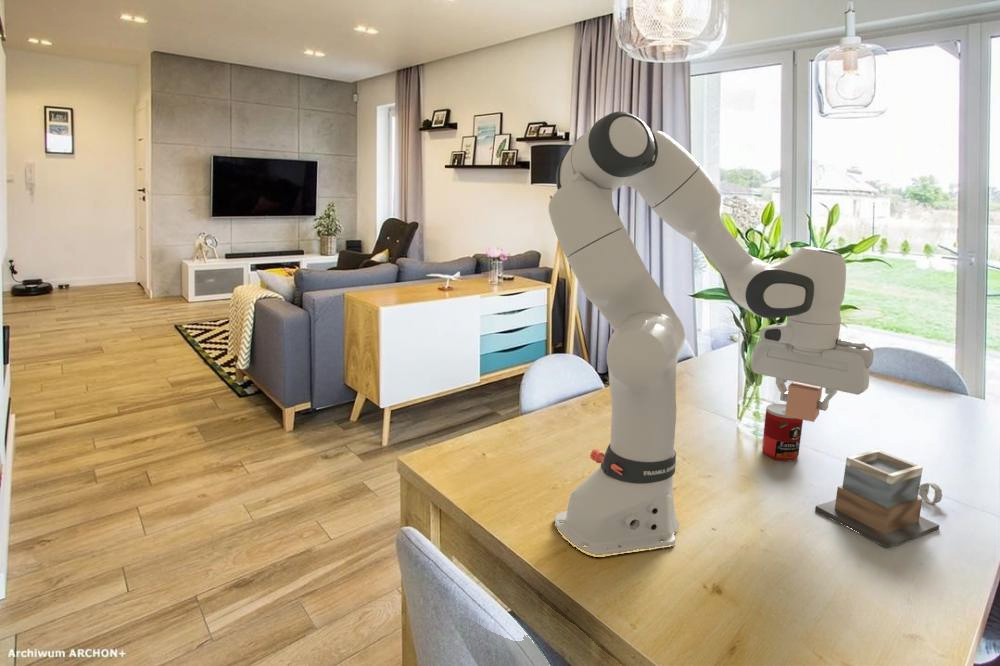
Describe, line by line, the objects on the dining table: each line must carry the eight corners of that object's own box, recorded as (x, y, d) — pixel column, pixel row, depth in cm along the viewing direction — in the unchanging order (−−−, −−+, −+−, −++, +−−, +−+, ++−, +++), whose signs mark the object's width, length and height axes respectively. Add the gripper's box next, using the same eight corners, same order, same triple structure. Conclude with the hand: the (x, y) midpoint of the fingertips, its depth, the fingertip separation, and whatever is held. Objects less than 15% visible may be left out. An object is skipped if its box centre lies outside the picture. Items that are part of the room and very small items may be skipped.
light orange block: (785, 416, 116) (788, 386, 114) (791, 409, 120) (794, 380, 118) (813, 421, 113) (817, 391, 111) (818, 414, 117) (822, 384, 115)
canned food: (777, 463, 134) (783, 417, 132) (754, 449, 142) (758, 405, 139) (806, 459, 136) (812, 413, 134) (781, 445, 144) (786, 402, 141)
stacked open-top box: (888, 549, 102) (898, 486, 99) (815, 510, 114) (822, 454, 112) (938, 530, 108) (949, 470, 105) (863, 495, 120) (871, 441, 117)
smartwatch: (942, 506, 116) (945, 487, 115) (933, 507, 115) (936, 488, 114) (925, 497, 119) (928, 479, 118) (916, 499, 119) (919, 480, 118)
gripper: (880, 341, 107) (869, 414, 111) (764, 324, 122) (757, 389, 125) (869, 347, 103) (858, 423, 106) (751, 328, 117) (744, 396, 120)
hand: (803, 405), depth 116 cm, fingers closed on light orange block, 5 cm apart
